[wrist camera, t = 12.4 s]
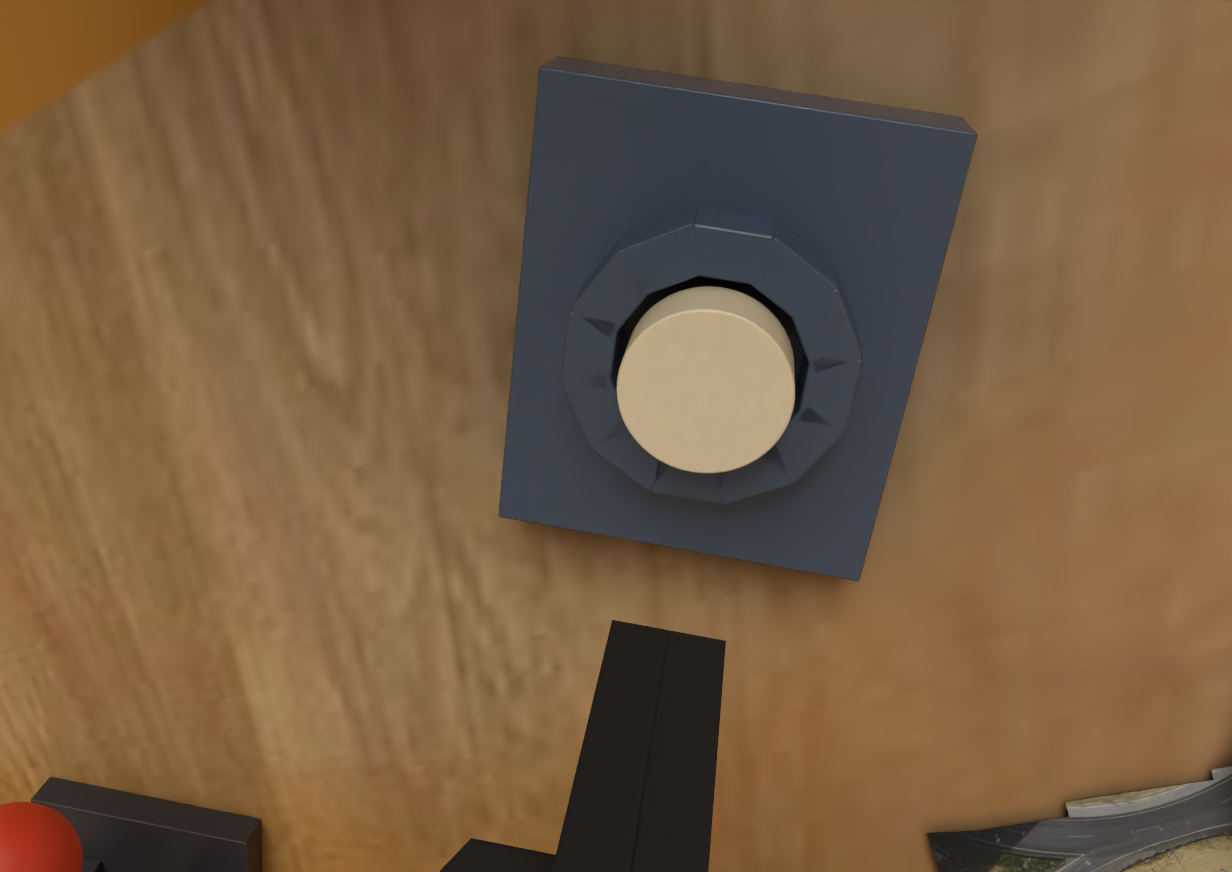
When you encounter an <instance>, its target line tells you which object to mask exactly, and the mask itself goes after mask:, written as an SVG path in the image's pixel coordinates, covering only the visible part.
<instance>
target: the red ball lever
mask: <svg viewBox="0 0 1232 872" xmlns="http://www.w3.org/2000/svg"><path fill="white" fill-rule="evenodd" d="M82 862H83V854H82V847H81V843H80V839H79V837H78V834H77V832H76V831H75V829H74V827H73V826H72V825H71V823H70V822H69V821H68V820H67V819H66V818H65V817H64V816H63V815H62V814H60V813H59V812H57V811H56V810H54V809H52V808H50V807H47V806H45V805H41V804H38V803H31V802H15V803H9V804H4V805H0V872H81V870H82Z"/></svg>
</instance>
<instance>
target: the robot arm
mask: <svg viewBox="0 0 1232 872" xmlns="http://www.w3.org/2000/svg"><path fill="white" fill-rule="evenodd" d="M725 643H726V641H723V640H718V639H713V638H707V637H702V636H696V635H691V634H685V633H680V632H675V631H669V630H664V629H658V628H653V627H648V626H642V625H637V624H631V623H626V622H620V621H615V620H612V623H611V628H610V632H609V636H608V640H607V644H606V648H605V653H604V657H603V661H602V665H601V669H600V674H599V678H598V682H597V686H596V690H595V694H594V699H593V703H592V707H591V711H590V715H589V719H588V724H587V728H586V732H585V736H584V740H583V744H582V749H581V753H580V757H579V761H578V765H577V770H576V774H575V778H574V782H573V786H572V790H571V795H570V799H569V803H568V807H567V811H566V815H565V820H564V824H563V828H562V832H561V836H560V840H559V845H558V849H557V853H556V855H553V854H548V853H543V852H538V851H533V850H528V849H523V848H518V847H513V846H508V845H503V844H498V843H493V842H488V841H483V840H478V839H473V838H471V839H470V840H469V841H468V842H467V843H466V844H465V845H464V846H463V847H462V849H461V850H460V851H459V852H458V853H457V854H456V855H455V856H454V857H453V858H452V859H451V860H450V861H449V862H448V863H447V864H446V865H445V866H444V867H443V868H442V869H441V870H440V872H708V867H709V854H710V841H711V828H712V815H713V802H714V788H715V775H716V762H717V749H718V736H719V722H720V709H721V696H722V683H723V670H724V657H725Z"/></svg>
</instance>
